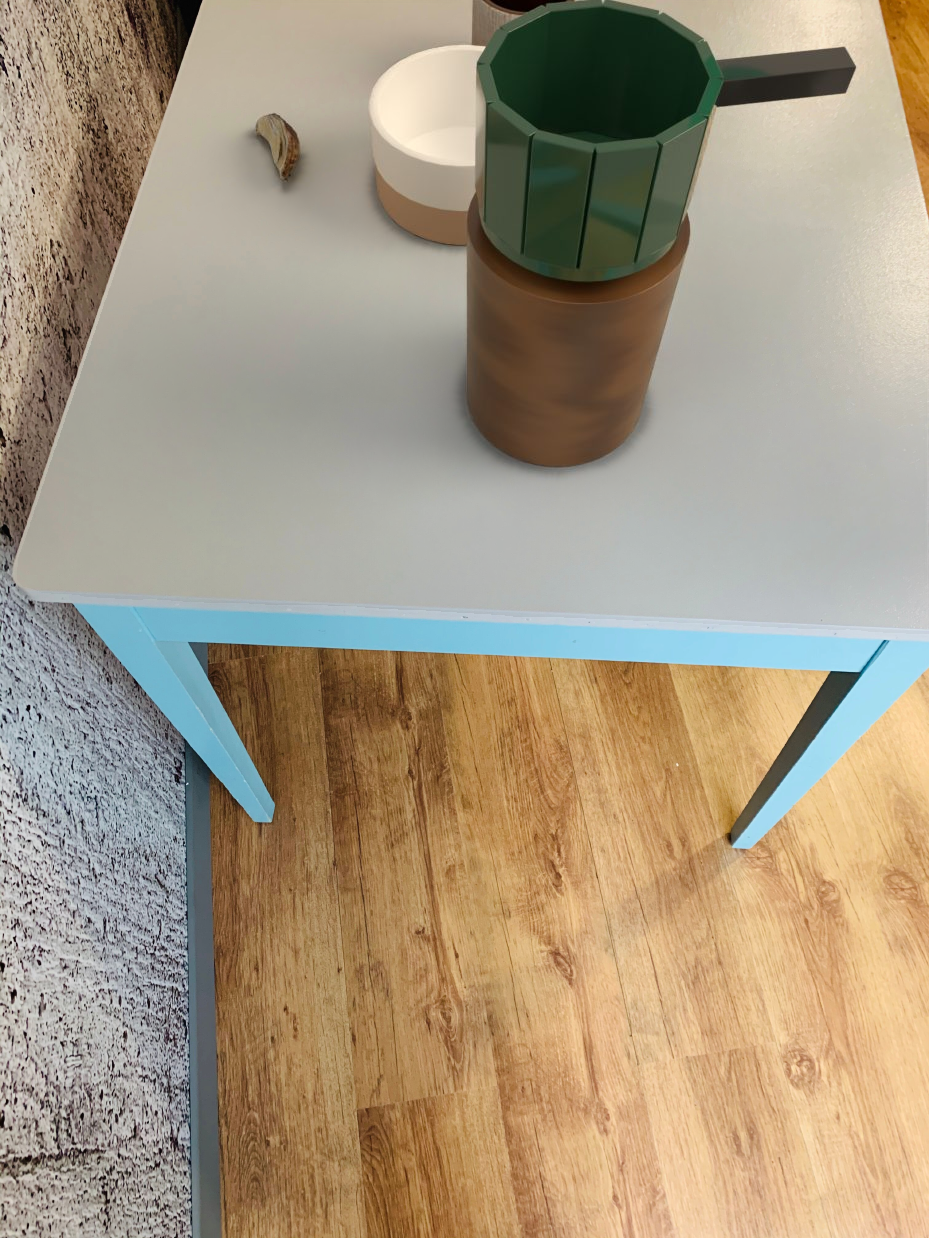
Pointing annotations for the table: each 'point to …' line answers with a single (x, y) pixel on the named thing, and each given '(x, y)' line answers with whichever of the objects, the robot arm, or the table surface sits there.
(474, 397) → the stand
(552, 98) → the pot
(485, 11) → the planter
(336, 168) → the table surface
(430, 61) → the bowl
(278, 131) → the oyster shell
